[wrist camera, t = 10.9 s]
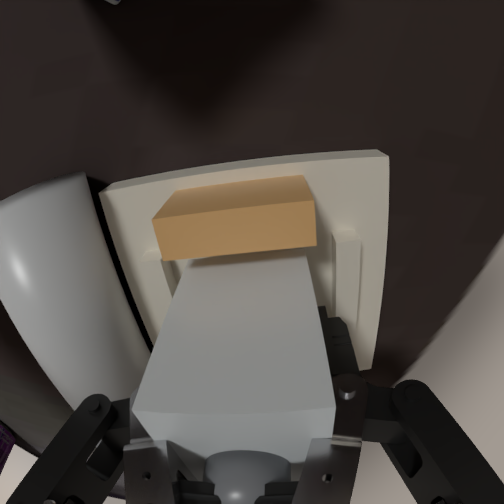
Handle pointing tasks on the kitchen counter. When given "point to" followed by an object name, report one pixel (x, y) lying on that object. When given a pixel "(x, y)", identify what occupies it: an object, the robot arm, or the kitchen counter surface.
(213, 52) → the kitchen counter surface
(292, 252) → the grey box with knob
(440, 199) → the kitchen counter surface
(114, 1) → the medicine box
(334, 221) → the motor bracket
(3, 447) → the beverage can
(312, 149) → the kitchen counter surface
